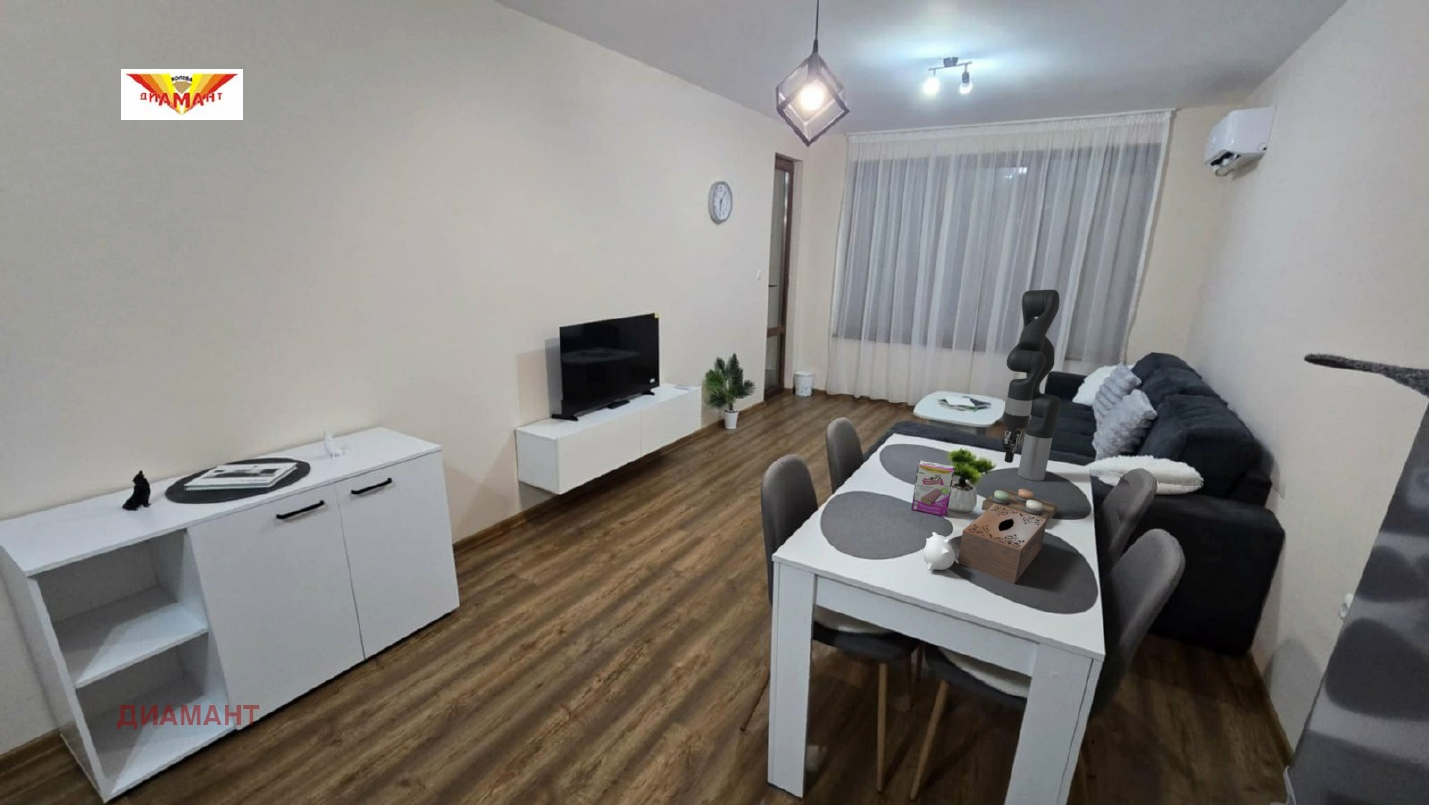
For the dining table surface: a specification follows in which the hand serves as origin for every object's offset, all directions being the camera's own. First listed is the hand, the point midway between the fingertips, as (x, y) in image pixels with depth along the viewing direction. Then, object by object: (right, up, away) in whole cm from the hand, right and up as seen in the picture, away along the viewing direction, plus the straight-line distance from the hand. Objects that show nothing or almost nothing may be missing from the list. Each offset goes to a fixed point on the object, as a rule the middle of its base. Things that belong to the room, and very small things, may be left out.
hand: (1008, 461), depth 185 cm
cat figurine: (-36, -25, -32) cm, 54 cm away
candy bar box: (-26, -17, +1) cm, 31 cm away
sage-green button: (-1, -13, +3) cm, 13 cm away
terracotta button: (+8, -12, +5) cm, 16 cm away
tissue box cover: (-16, -24, -26) cm, 39 cm away
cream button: (+6, -15, -4) cm, 16 cm away
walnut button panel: (+5, -17, +3) cm, 18 cm away
